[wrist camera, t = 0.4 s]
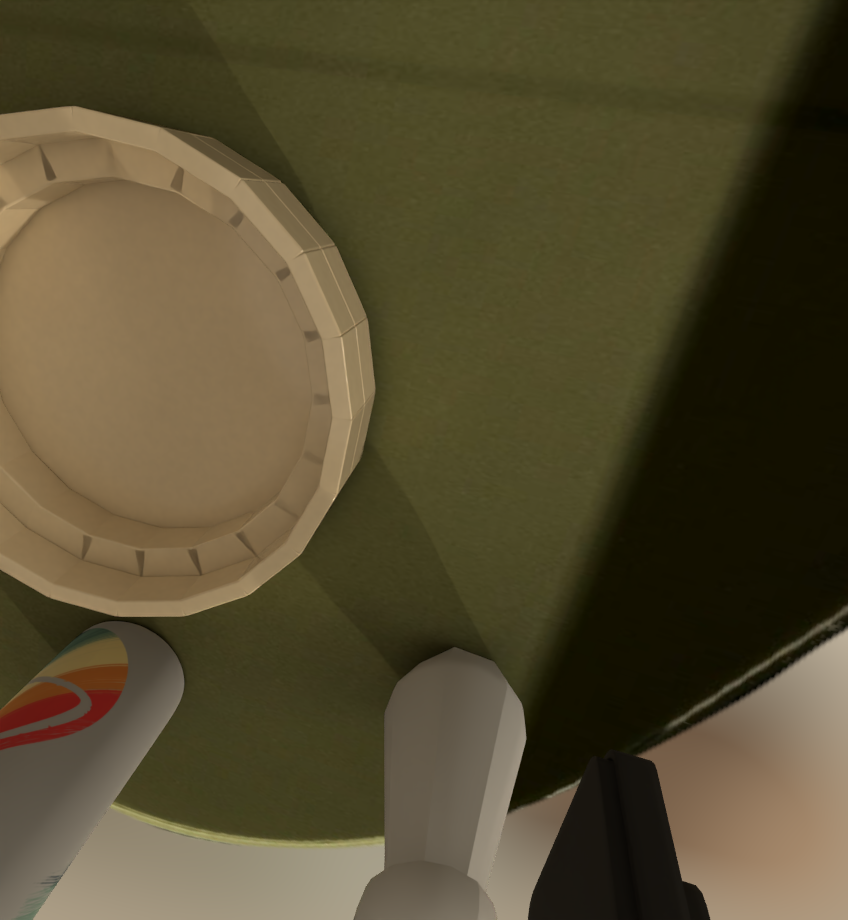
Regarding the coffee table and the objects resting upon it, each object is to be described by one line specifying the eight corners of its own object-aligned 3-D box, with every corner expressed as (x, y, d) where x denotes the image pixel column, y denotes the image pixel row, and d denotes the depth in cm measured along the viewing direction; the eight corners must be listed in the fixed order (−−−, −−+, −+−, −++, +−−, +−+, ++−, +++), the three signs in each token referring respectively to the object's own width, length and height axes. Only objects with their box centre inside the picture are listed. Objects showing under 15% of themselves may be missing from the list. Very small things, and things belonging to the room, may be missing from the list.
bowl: (-48, 73, 26) (-159, 48, 22) (420, 188, 25) (399, 186, 21) (-45, 503, 32) (-131, 548, 28) (331, 606, 31) (301, 669, 27)
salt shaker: (530, 742, 32) (532, 1066, 20) (404, 742, 33) (334, 1053, 21) (519, 628, 30) (516, 910, 18) (387, 632, 31) (299, 903, 19)
